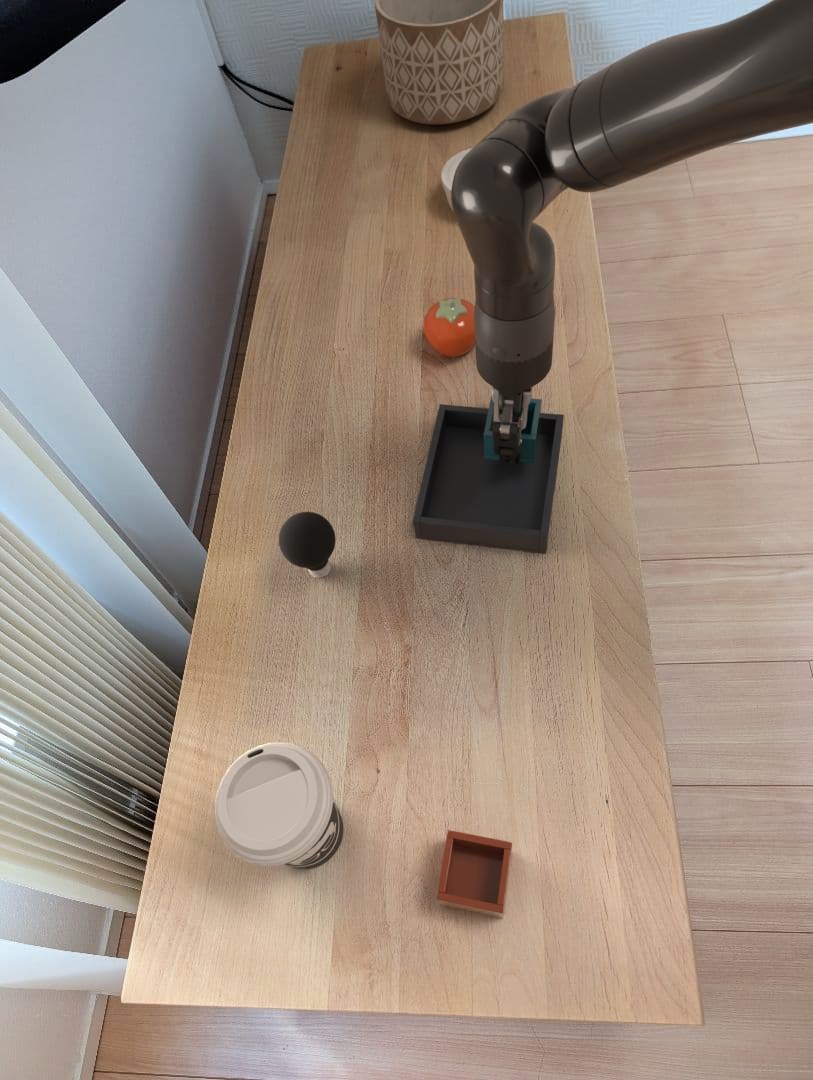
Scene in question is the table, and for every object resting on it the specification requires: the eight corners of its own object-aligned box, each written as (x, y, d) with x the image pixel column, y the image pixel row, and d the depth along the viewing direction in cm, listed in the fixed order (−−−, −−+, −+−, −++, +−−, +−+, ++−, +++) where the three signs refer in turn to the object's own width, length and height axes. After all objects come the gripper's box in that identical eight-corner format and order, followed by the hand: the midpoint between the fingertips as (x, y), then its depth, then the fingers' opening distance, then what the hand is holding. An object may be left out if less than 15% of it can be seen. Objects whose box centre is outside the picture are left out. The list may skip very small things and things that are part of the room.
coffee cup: (362, 779, 75) (332, 734, 62) (356, 887, 70) (322, 863, 57) (265, 779, 76) (216, 735, 63) (253, 886, 71) (197, 861, 58)
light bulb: (337, 599, 85) (318, 555, 77) (288, 589, 86) (263, 544, 78) (353, 554, 88) (337, 506, 79) (305, 544, 89) (284, 496, 81)
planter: (365, 112, 131) (347, 5, 117) (437, 55, 137) (428, -52, 123) (455, 148, 123) (448, 38, 109) (526, 86, 130) (529, -25, 116)
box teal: (540, 424, 90) (541, 399, 86) (534, 464, 87) (535, 439, 83) (492, 420, 91) (491, 395, 87) (484, 459, 88) (483, 434, 85)
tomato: (478, 322, 104) (476, 274, 97) (485, 363, 100) (484, 316, 93) (423, 329, 104) (417, 282, 97) (428, 371, 100) (422, 325, 94)
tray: (562, 433, 93) (563, 414, 90) (546, 554, 85) (547, 537, 82) (442, 423, 96) (439, 403, 93) (415, 538, 88) (412, 521, 85)
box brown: (512, 850, 70) (512, 842, 66) (503, 918, 68) (503, 913, 64) (451, 838, 71) (447, 829, 68) (440, 904, 69) (436, 899, 65)
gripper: (545, 391, 70) (539, 495, 85) (561, 279, 77) (553, 393, 91) (462, 384, 72) (470, 487, 86) (486, 276, 78) (490, 388, 93)
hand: (513, 438), depth 89 cm, fingers closed on box teal, 5 cm apart
